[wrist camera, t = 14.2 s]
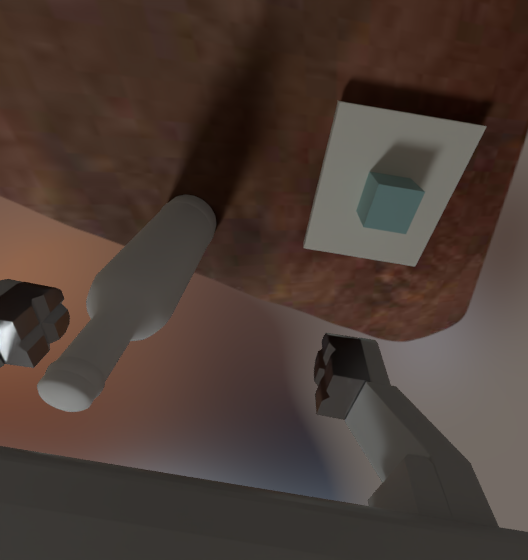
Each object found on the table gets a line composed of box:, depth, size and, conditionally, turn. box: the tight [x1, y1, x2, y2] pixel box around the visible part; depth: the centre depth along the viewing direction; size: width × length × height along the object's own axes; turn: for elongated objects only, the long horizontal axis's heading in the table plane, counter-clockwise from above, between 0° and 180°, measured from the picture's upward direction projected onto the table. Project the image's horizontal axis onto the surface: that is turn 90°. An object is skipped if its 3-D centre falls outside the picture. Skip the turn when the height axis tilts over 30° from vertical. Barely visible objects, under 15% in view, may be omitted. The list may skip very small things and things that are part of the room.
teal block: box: [356, 172, 425, 234], centre depth 35 cm, size 5×5×5 cm
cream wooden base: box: [304, 101, 486, 266], centre depth 38 cm, size 18×16×3 cm
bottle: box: [37, 195, 217, 412], centre depth 32 cm, size 8×8×30 cm
